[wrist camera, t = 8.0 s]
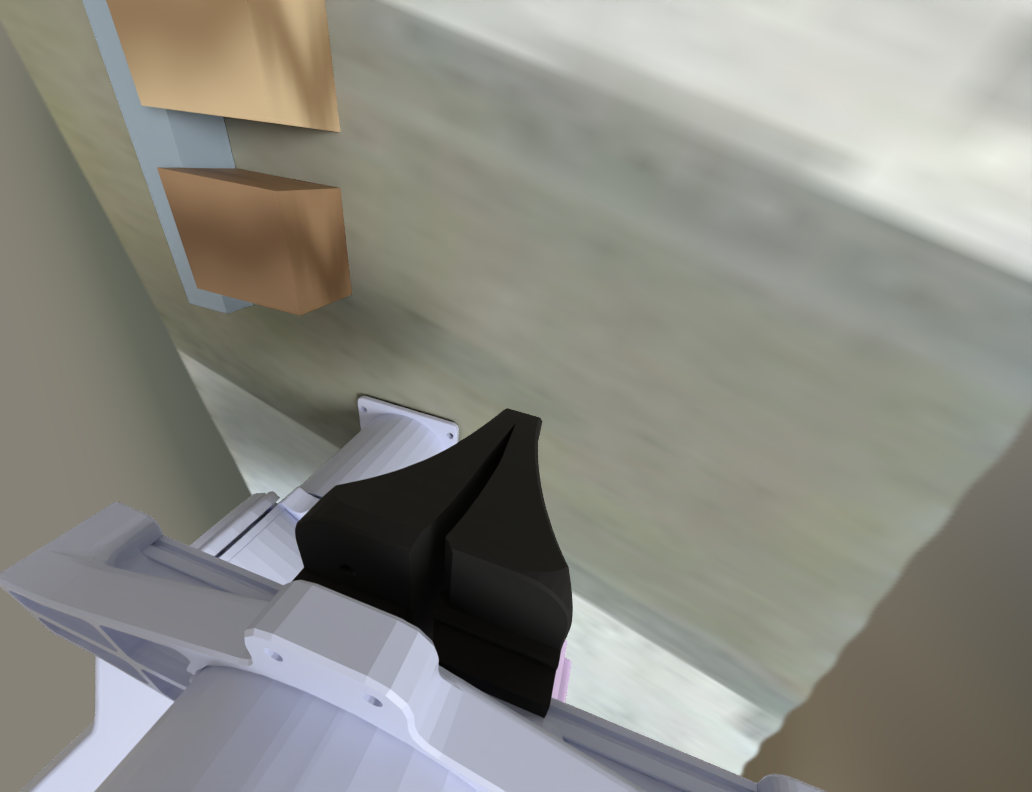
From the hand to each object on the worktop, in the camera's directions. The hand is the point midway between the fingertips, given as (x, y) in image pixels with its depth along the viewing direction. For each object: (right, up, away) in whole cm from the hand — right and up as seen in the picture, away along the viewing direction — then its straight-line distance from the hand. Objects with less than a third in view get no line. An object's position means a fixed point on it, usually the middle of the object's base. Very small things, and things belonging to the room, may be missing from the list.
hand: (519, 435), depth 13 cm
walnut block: (-13, +11, +10) cm, 20 cm away
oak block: (-12, +18, +5) cm, 23 cm away
